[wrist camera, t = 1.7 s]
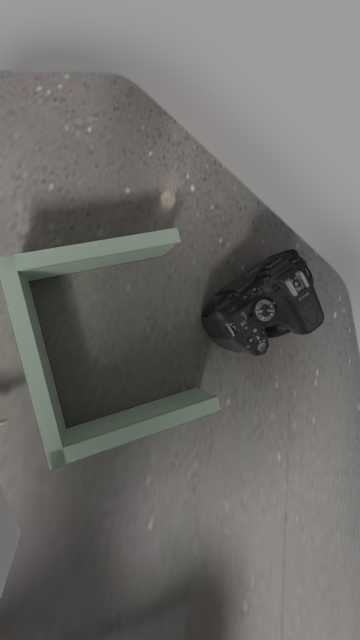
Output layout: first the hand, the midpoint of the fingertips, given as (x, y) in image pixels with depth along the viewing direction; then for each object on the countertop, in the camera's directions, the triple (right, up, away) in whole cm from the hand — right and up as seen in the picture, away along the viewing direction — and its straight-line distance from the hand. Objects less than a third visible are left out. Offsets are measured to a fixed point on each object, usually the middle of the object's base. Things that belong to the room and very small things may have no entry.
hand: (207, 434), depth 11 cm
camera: (+7, +6, +30) cm, 31 cm away
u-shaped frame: (-8, +2, +25) cm, 26 cm away
